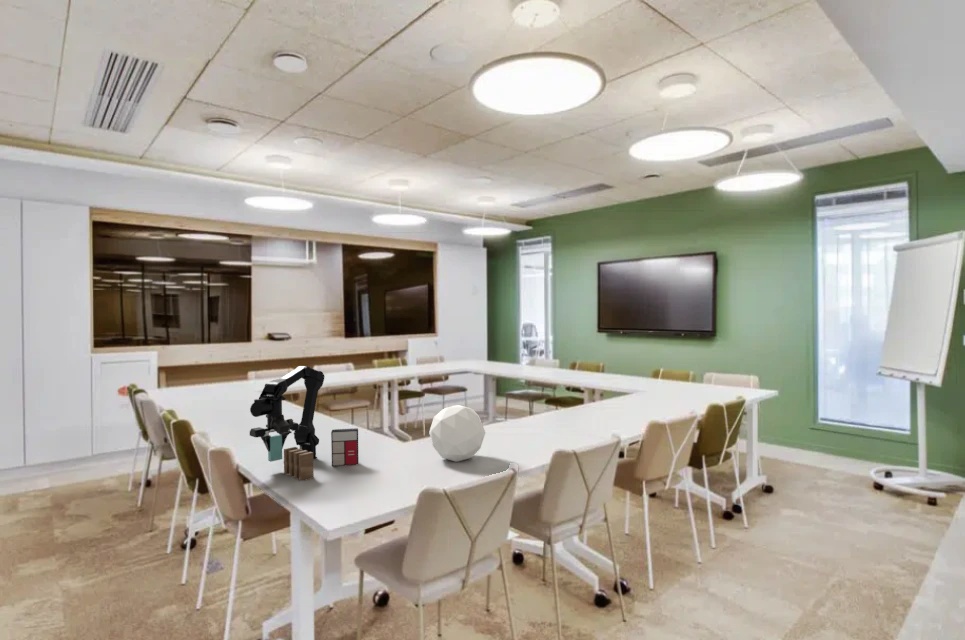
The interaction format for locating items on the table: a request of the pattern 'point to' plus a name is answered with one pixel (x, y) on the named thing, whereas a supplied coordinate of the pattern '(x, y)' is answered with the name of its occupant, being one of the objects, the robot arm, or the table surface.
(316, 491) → the table surface
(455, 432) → the geometric sculpture
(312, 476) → the domino
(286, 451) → the domino
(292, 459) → the domino
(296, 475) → the domino
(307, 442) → the robot arm
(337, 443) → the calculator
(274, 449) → the domino
